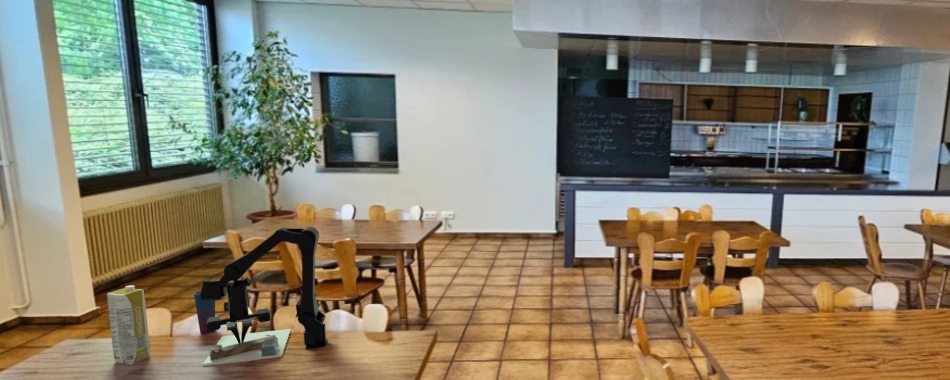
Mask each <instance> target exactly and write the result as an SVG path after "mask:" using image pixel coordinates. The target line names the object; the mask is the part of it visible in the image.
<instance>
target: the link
mask: <svg viewBox="0 0 950 380" xmlns="http://www.w3.org/2000/svg"><path fill="white" fill-rule="evenodd" d="M272 338H277V337H276V336H275V335H272V336H268V337H264V338H260V339H255V340H251V341H247V342H243V343H238V344H234V345H230V346H225V347H222V348H221V349H219V352H215V353H214V351H213V350H211V349H209V350H208V353H209V355H210V358H211V360H213V359H217V358H221V357H225V356H229V355H233V354H238V353H242V352H246V351H250V350H254V349H258V348H261V347H262V344H263V342H264V340H265V339H272ZM276 344H278V341H277V343H276Z"/></svg>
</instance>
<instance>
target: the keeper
mask: <svg viewBox="0 0 950 380" xmlns="http://www.w3.org/2000/svg"><path fill="white" fill-rule="evenodd" d="M277 341H278V338H272V339H265V340H264V342H263V344H262V347H261V352H262V357H264V356H272V355H276V343H277Z"/></svg>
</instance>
